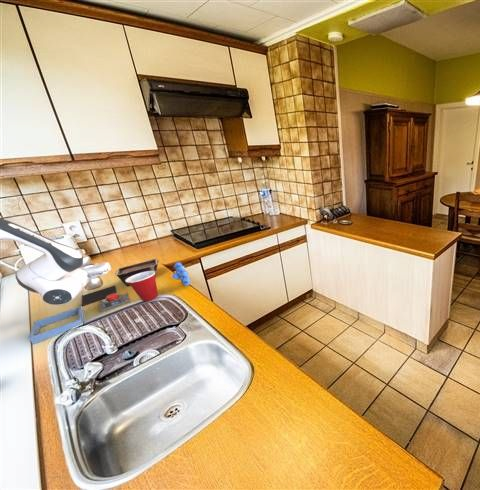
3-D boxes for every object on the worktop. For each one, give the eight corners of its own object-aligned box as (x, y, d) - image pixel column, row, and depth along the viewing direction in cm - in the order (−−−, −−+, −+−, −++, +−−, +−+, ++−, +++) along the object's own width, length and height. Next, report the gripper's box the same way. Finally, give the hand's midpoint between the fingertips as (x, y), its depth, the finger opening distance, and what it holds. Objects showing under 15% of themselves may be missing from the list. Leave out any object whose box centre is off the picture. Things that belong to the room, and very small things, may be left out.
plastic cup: (161, 288, 130) (152, 267, 125) (167, 296, 123) (157, 274, 118) (133, 298, 122) (122, 276, 118) (137, 307, 116) (126, 284, 111)
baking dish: (127, 280, 143) (115, 265, 138) (165, 266, 151) (155, 251, 146) (124, 293, 133) (111, 278, 128) (165, 277, 140) (154, 262, 135)
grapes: (172, 284, 133) (163, 263, 128) (187, 278, 138) (179, 258, 133) (180, 291, 126) (171, 269, 121) (195, 285, 131) (187, 264, 126)
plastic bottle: (89, 286, 126) (68, 248, 118) (107, 282, 129) (87, 245, 121) (83, 293, 121) (60, 254, 113) (101, 289, 123) (80, 250, 115)
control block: (101, 313, 114) (97, 307, 112) (100, 304, 119) (97, 299, 118) (130, 302, 120) (128, 296, 119) (128, 295, 126) (126, 289, 125)
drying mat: (82, 306, 119) (81, 305, 118) (82, 296, 127) (81, 295, 126) (117, 295, 126) (116, 294, 126) (115, 286, 134) (114, 285, 134)
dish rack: (33, 344, 97) (28, 338, 96) (37, 327, 106) (33, 321, 105) (84, 325, 106) (80, 319, 105) (84, 311, 115) (81, 305, 114)
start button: (107, 302, 116) (106, 298, 116) (107, 298, 119) (105, 295, 118) (118, 298, 119) (116, 295, 118) (118, 295, 121) (116, 292, 120)
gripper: (102, 265, 113) (111, 254, 124) (34, 280, 104) (50, 266, 115) (109, 278, 116) (117, 266, 127) (43, 293, 107) (58, 279, 118)
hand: (85, 266), depth 121 cm, fingers closed on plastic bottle, 6 cm apart
